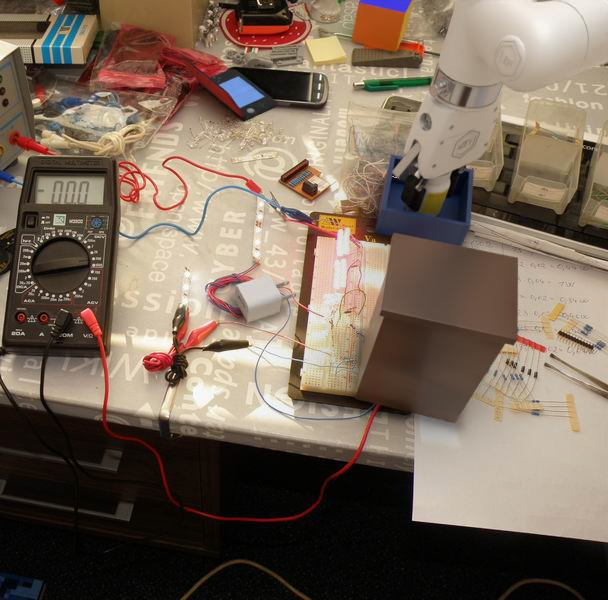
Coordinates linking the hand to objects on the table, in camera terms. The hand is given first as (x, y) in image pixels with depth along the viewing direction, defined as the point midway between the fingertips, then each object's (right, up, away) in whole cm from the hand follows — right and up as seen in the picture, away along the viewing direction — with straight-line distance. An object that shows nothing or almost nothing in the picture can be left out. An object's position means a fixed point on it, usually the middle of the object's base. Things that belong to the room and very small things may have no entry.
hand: (426, 197), depth 90 cm
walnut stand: (-6, -23, -13) cm, 27 cm away
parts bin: (0, -2, +3) cm, 4 cm away
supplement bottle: (0, -2, +3) cm, 3 cm away
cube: (+1, +33, +30) cm, 45 cm away
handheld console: (-26, +18, +19) cm, 37 cm away
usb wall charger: (-22, -15, -6) cm, 27 cm away
